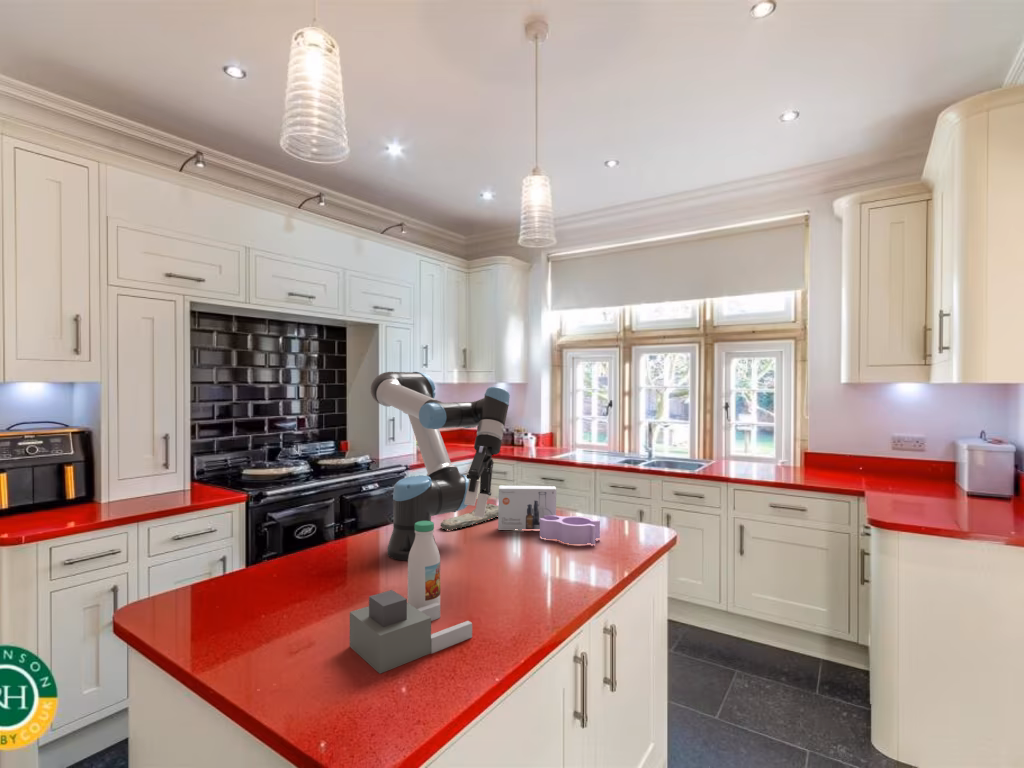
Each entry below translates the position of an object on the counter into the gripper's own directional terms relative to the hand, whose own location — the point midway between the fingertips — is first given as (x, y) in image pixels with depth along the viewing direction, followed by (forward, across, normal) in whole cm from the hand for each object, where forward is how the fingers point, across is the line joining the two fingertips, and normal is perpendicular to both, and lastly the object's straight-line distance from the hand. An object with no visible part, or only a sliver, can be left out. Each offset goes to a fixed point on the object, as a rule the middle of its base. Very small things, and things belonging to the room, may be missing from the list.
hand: (474, 511), depth 139 cm
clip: (-4, +45, -24) cm, 51 cm away
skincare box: (-7, +54, -8) cm, 55 cm away
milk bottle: (+26, -7, +6) cm, 27 cm away
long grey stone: (-8, +62, +13) cm, 64 cm away
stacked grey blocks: (+33, -22, +2) cm, 40 cm away
